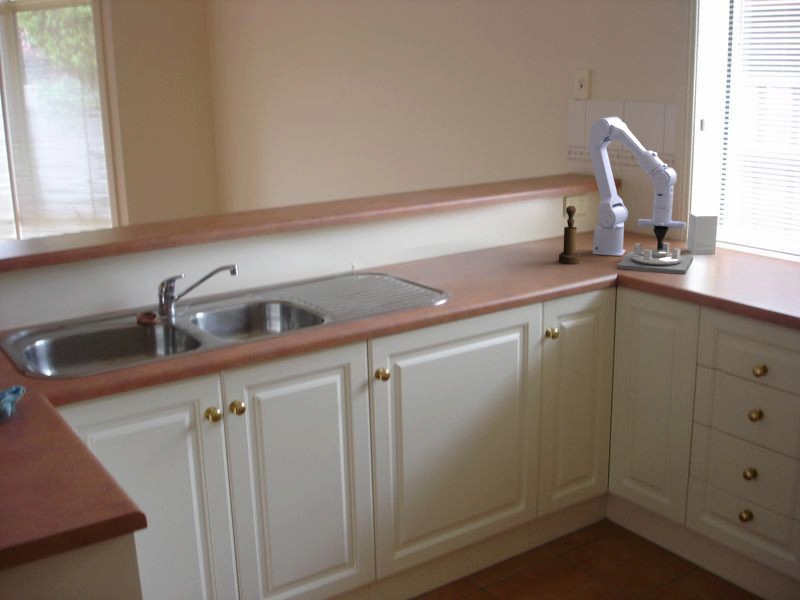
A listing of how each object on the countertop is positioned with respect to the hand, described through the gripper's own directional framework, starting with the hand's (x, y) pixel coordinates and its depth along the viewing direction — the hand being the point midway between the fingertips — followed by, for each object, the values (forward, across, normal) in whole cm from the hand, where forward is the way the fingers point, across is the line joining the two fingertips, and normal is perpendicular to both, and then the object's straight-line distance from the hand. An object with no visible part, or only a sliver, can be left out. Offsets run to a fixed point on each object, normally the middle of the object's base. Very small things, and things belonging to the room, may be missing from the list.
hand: (660, 249), depth 300 cm
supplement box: (+3, +10, +18) cm, 20 cm away
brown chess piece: (+4, -25, -14) cm, 29 cm away
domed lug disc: (+2, 0, -6) cm, 6 cm away
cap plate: (+3, 0, -6) cm, 7 cm away
